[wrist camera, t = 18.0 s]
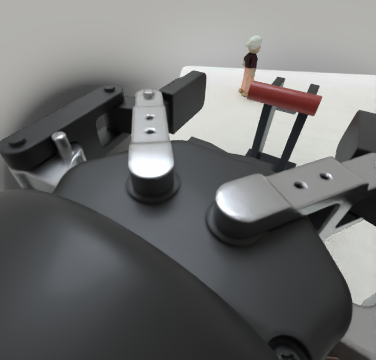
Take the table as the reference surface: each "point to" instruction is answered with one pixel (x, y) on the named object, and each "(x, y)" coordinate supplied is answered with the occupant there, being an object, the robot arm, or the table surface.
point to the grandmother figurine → (250, 64)
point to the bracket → (264, 129)
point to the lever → (284, 98)
